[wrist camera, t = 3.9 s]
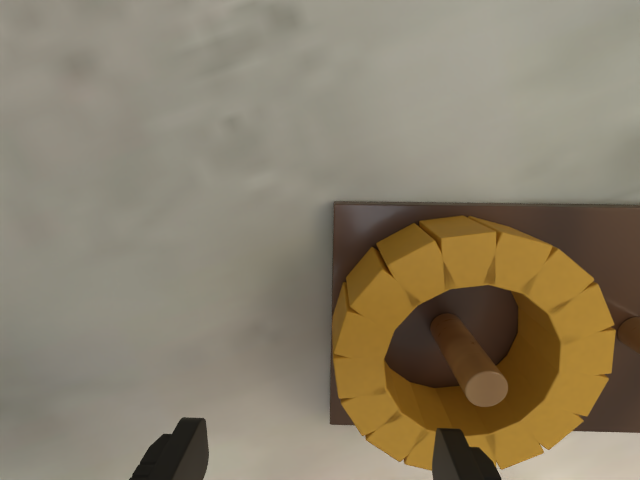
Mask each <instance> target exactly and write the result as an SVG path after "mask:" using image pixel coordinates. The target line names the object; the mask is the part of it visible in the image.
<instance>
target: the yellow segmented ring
mask: <svg viewBox="0 0 640 480" xmlns="http://www.w3.org/2000/svg"><path fill="white" fill-rule="evenodd" d="M376 245H377V247H378V249H379V251H380V252H379V251H378V250H376V249H375V248H374V247H371V248H370V249H369V251H368V252H367V253H366V254H365V255H364V257H363V258H362V259H361V260H360V261H359V263H358V264H357V265H356V266H355V267H354V268H353V270H352V271H351V272H350V273H349V274H348V276H347V277H346V282H347V283H346V282H343V284H342V288H341V291H340V294H339V298H338V301H337V304H336V307H335V311H334V314H333V322H332V342H333V364H334V371H335V378H336V385H337V392H338V397H339V399H341V405H342V406H343V408H344V409H345V411H346V412H347V414H348V415H349V417H350V418H351V420H352V421H353V423H354V424H355V426H356V427H357V429H358V430H359V432H360V433H361V435H362V436H364V435H365V437H366V440H367V441H368V442H370V443H371V444H373V445H374V446H376V447H377V448H379V449H380V450H382V451H384V452H385V453H387V454H388V455H390V456H391V457H393V458H394V459H396V460H397V461H399V462H401V461H402V460H403V459H404V463H405V464H406V465H410V466H415V467H419V468H423V469H427V470H432V459H433V451H434V443H435V435H436V430H437V428H454V429H461V430H462V432H463V434H464V436H465V438H466V440H467V442H468V445H469V447H479V448H480V449H481V450H482V451H483V452H484V453H485V454H486V455H487V456H488V457H489V458H490V459H491V460H492V461H493V463H494V465H495V467H496V462H497V463H498V465H499V467H500V469H505V468H507V467H510V466H512V465H515V464H517V463H520V462H522V461H525V460H527V459H530V458H532V457H535V456H537V455H540V454H542V453H544V451H543V449H542V447H541V445H542V446H544V447H545V448H546V449H548V450H549V449H551V448H552V447H553V446H554V445H556V444H557V443H558V442H559V441H560V440H562V439H563V438H564V437H565V436H566V435H568V434H569V433H570V432H571V431H572V430H574V429H575V428H576V427H577V426H579V425H580V424H581V423H582V422H583V419H582V418H581V417H580V416H579V415H582V416H588V415H589V413H590V411H591V409H592V408H593V406H594V404H595V402H596V401H597V399H598V397H599V396H600V394H601V392H602V390H603V389H604V387H605V385H606V383H607V382H608V380H609V378H608V377H607V376H606V375H605V374H611V373H612V363H613V353H614V343H615V333H616V330H615V329H613V328H612V327H611V326H613V325H614V322H613V319H612V317H611V314H610V312H609V309H608V307H607V304H606V302H605V299H604V297H603V294H602V292H601V289H600V287H599V285H598V284H597V283H595V282H593V281H594V278H593V277H592V276H591V275H590V274H588V273H587V272H586V271H585V270H584V269H582V268H581V267H580V266H579V265H578V264H577V263H575V262H574V261H573V260H572V259H571V258H569V257H568V256H567V255H566V254H565V253H563V252H562V251H561V250H560V249H558V248H556V247H554V246H552V245H551V244H548V243H546V242H544V241H541V240H539V239H537V238H534V237H532V236H530V235H527V234H525V233H523V232H520V231H518V230H516V229H513V228H511V227H509V226H505V225H501V224H497V223H494V222H490V221H486V220H483V219H479V218H475V217H472V216H469V217H468V218H467V217H465V216H463V215H462V216H454V217H446V218H438V219H430V220H422V221H419V226H417V225H416V224H415V223H413V224H411V225H409V226H407V227H405V228H403V229H402V230H400V231H398V232H396V233H394V234H392V235H390V236H389V237H387V238H385V239H383V240H381V241H379V242H377V243H376ZM484 285H490V286H494V287H498V288H502V289H506V290H509V291H511V292H512V294H513V297H514V299H515V301H516V303H517V305H518V333H517V336H516V338H515V340H514V342H513V344H512V346H511V348H510V350H509V352H508V355H507V356H506V357H505V358H504V359H503V360H502V361H501V362H500V363H499V364H497V365H496V367H497V368H498V369H499V371H500V372H501V373H502V374H503V376H504V377H505V378H506V380H507V383H508V391H507V394H506V396H505V398H504V399H503V400H502V401H501V402H499V403H498V404H496V405H493V406H490V407H480V406H476V405H474V404H473V403H471V402H470V401H469V400H468V399H467V397H466V396H465V394H464V392H463V390H462V388H461V387H460V386H452V387H442V388H432V387H428V386H424V385H420V384H415V383H411V382H409V381H407V380H406V379H405V378H403V377H402V376H400V375H399V374H397V373H396V372H395V371H393V370H392V369H390V368H389V366H388V365H387V363H386V361H385V360H384V358H385V355H386V353H387V350H388V347H389V344H390V342H391V339H392V336H393V333H394V331H395V329H396V328H397V327H398V326H399V325H400V324H401V323H402V322H403V321H404V320H405V319H406V317H407V316H408V315H409V314H410V313H411V312H412V311H413V310H414V309H415V308H416V307H417V306H418V305H420V304H422V303H424V302H426V301H428V300H430V299H432V298H434V297H436V296H438V295H440V294H442V293H444V292H446V291H448V290H450V289H457V288H466V287H475V286H484ZM540 444H541V445H540Z"/></svg>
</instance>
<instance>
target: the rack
mask: <svg viewBox="0 0 640 480" xmlns="http://www.w3.org/2000/svg"><path fill="white" fill-rule="evenodd" d="M462 215H463V216H465V217H467V218H468V217H469V216H472V217H475V218H479V219H483V220H486V221H490V222H494V223H497V224H501V225H505V226H509V227H511V228H513V229H516V230H518V231H520V232H523V233H525V234H527V235H530V236H532V237H534V238H537V239H539V240H541V241H544V242H546V243H548V244H551V245H552V246H554V247H556V248H558V249H560V250H561V251H562V252H563V253H565V254H566V255H567V256H568V257H569V258H571V259H572V260H573V261H574V262H575V263H577V264H578V265H579V266H580V267H581V268H582V269H584V270H585V271H586V272H587V273H588V274H590V275H591V276H592V277H593V278H594V281H593V282H595V283H597V284H598V285H599V287H600V289H601V292H602V294H603V297H604V299H605V302H606V304H607V307H608V309H609V312H610V314H611V317H612V319H613V322H614V325H613V326H611V327H612V328H613V329H615V330H616V333H615V343H614V353H613V363H612V373H611V374H605V375H606V376H607V377H608V378H609V380H608V382H607V383H606V385H605V387H604V389H603V390H602V392H601V394H600V396H599V397H598V399H597V401H596V402H595V404H594V406H593V408H592V409H591V411H590V413H589V415H588V416H582V415H579V416H580V417H581V418H582V419H583V422H582V423H581V424H580V425H579V426H577V427H576V428H575V429H574V430H572V431H594V432H631V433H640V205H609V204H522V203H436V202H349V201H334V221H333V274H332V322H333V314H334V311H335V307H336V304H337V301H338V298H339V294H340V291H341V288H342V284H343V282H346V277H347V276H348V274H349V273H350V272H351V271H352V270H353V268H354V267H355V266H356V265H357V264H358V263H359V261H360V260H361V259H362V258H363V257H364V255H365V254H366V253H367V252H368V251H369V249H370V248H371V247H374V248H375V249H376V250H378V251H379V249H378V247H377V245H376V243H377V242H379V241H381V240H383V239H385V238H387V237H389V236H390V235H392V234H394V233H396V232H398V231H400V230H402V229H403V228H405V227H407V226H409V225H411V224H413V223H415V224H416V225H417V226H419V221H422V220H430V219H438V218H446V217H454V216H462ZM379 252H380V251H379ZM346 283H347V282H346ZM517 333H518V305H517V303H516V301H515V299H514V297H513V294H512V292H511V291H509V290H506V289H502V288H498V287H494V286H490V285H484V286H475V287H466V288H457V289H450V290H448V291H446V292H444V293H442V294H440V295H438V296H436V297H434V298H432V299H430V300H428V301H426V302H424V303H422V304H420V305H418V306H417V307H416V308H415V309H414V310H413V311H412V312H411V313H410V314H409V315H408V316H407V317H406V319H405V320H404V321H403V322H402V323H401V324H400V325H399V326H398V327H397V328H396V329H395V331H394V333H393V336H392V339H391V342H390V344H389V347H388V350H387V353H386V355H385V358H384V360H385V361H386V363H387V365H388V366H389V368H390V369H392V370H393V371H395V372H396V373H397V374H399V375H400V376H402V377H403V378H405V379H406V380H407V381H409V382H411V383H415V384H420V385H424V386H428V387H432V388H442V387H452V386H460V387H461V388H462V390H463V392H464V394H465V396H466V397H467V399H468V400H469V401H470V402H471V403H473V404H474V405H476V406H480V407H490V406H493V405H496V404H498V403H499V402H501V401H502V400H503V399H504V398H505V396H506V394H507V391H508V383H507V380H506V378H505V377H504V376H503V374H502V373H501V372H500V371H499V369H498V368H497V367H496V365H497V364H499V363H500V362H501V361H502V360H503V359H504V358H505V357H506V356H507V355H508V352H509V350H510V348H511V346H512V344H513V342H514V340H515V338H516V336H517ZM330 424H332V425H355V424H354V423H353V421H352V420H351V418H350V417H349V415H348V414H347V412H346V411H345V409H344V408H343V406H342V405H341V399H339V397H338V392H337V385H336V378H335V371H334V364H333V342H332V328H331V382H330Z"/></svg>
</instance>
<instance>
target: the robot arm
mask: <svg viewBox="0 0 640 480" xmlns="http://www.w3.org/2000/svg"><path fill="white" fill-rule="evenodd" d="M208 458H209V450H208V439H207V428H206V421H205V419H204V418H186V417H183V418H181V420H180V421H179V423H178V424H177V426H176V428H175V430H174V431H173V433H172V434H163V435H162V436H161V437H160V438H159V439H157V440H156V441H155V442H154V443H153V444H152V445H151V446H150V447H149V449H148V450H147V452H146V453H145V455H144V457H143V458H142V460H141V461H140V465H138V466H137V468H136V470H135V471H134V473H133V475H132V478H130V479H129V480H203V478H204V476H205V473H206V469H207V465H208ZM432 473H433V480H501V477H500V475H499V473H498V471H497V469H496V467H495V465H494V463H493V461H492V460H491V459H490V458H489V457H488V456H487V455H486V454H485V453H484V452H483V451H482V450H481V449H480V448H479V447H469V445H468V442H467V440H466V438H465V436H464V434H463V432H462V430H461V429H454V428H437V430H436V435H435V443H434V451H433V459H432Z"/></svg>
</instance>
